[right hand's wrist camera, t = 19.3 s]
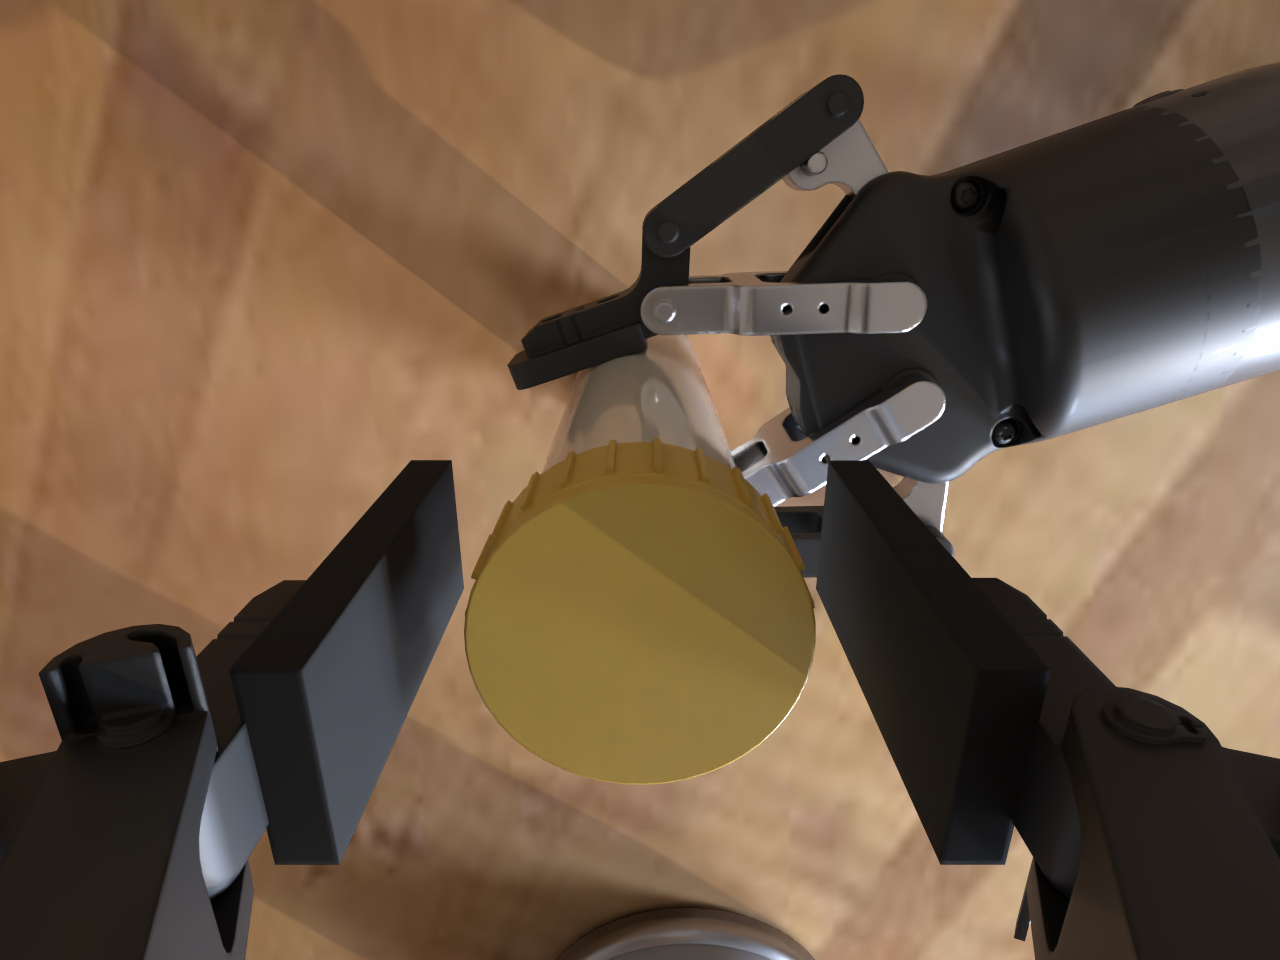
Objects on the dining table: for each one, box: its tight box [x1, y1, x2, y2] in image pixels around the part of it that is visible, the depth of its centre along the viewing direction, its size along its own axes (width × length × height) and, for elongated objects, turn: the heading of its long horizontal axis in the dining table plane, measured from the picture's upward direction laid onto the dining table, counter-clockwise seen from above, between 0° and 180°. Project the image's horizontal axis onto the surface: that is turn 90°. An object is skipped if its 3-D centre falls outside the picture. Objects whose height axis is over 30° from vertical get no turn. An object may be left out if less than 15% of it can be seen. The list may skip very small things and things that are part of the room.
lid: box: [464, 438, 816, 784], centre depth 11 cm, size 5×5×2 cm
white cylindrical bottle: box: [542, 334, 736, 473], centre depth 19 cm, size 4×4×17 cm
